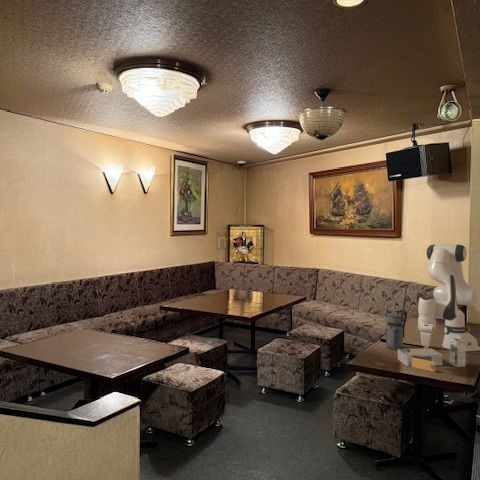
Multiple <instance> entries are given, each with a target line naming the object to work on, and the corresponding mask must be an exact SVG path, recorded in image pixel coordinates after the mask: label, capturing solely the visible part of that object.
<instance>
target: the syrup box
mask: <svg viewBox="0 0 480 480" xmlns="http://www.w3.org/2000/svg"><path fill="white" fill-rule="evenodd" d="M465 350H466V341H464V340H462V339H459V338H451V339H450V349H449V365H452V366H453V367H456V368H466V351H465Z"/></svg>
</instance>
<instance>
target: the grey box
mask: <svg viewBox="0 0 480 480" xmlns="http://www.w3.org/2000/svg"><path fill="white" fill-rule="evenodd" d="M410 356H412V357H413V358H418V359H423V360H427V361H432V362H435V367H436V366H439V367H440V366H443V354H441V352H439V351H436V350H435V349H434V348H432V347H431V348H428V351H424V348H402V349H398V350H397V360H398V361H400V362H401V363H402V364H404V365H405V366H406V367H410Z"/></svg>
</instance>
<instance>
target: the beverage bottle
mask: <svg viewBox="0 0 480 480" xmlns="http://www.w3.org/2000/svg"><path fill="white" fill-rule="evenodd" d="M384 316H385V322H386V325H385V346H386V348H387V349H389V350H394V351H395V350H396V351H398V349H404V339H406V337H405V326H406V322H407V317H408V312H407V311H406V310H405V309H400V310H394V311H393V310H392V311H391V310H389V308H386V310H385V311H384Z"/></svg>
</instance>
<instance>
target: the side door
mask: <svg viewBox="0 0 480 480" xmlns="http://www.w3.org/2000/svg"><path fill="white" fill-rule="evenodd" d="M409 367H410V368H411V367H413V368H414V369H415V368H416V369H421V370H424V371H428V370H429V371H430V372H433V373H435V372H436V366H435V362H432V361H427V360H423V359H418V358H413V357H412V356H410V366H409Z"/></svg>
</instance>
